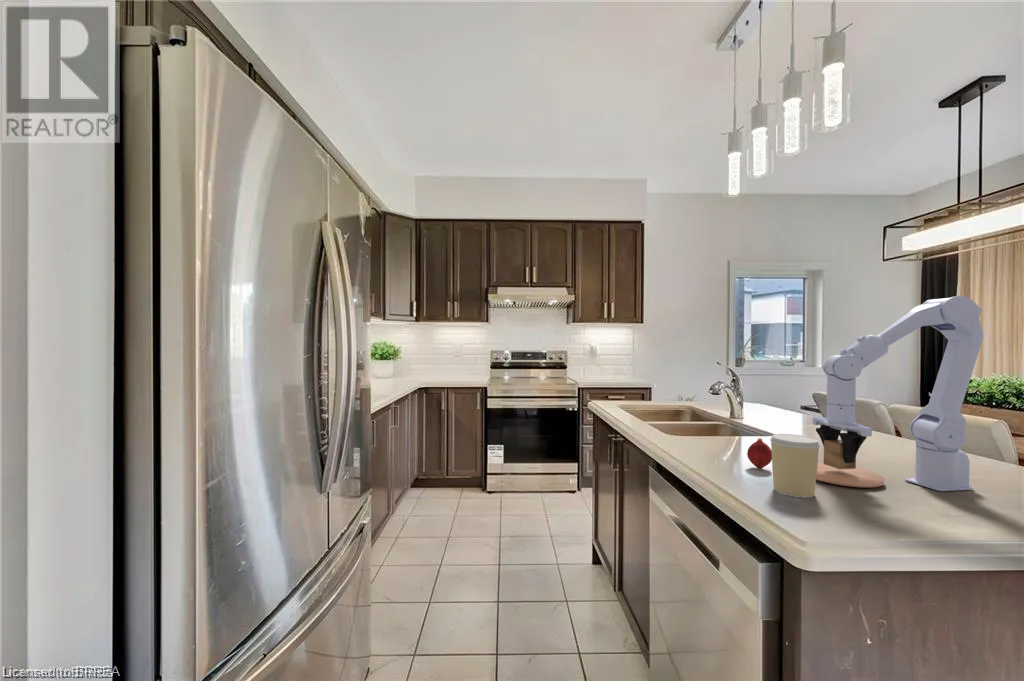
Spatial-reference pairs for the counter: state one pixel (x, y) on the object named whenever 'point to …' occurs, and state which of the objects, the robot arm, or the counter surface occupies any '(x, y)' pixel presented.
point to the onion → (759, 454)
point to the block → (836, 455)
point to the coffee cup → (794, 464)
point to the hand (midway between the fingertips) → (839, 459)
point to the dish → (848, 476)
